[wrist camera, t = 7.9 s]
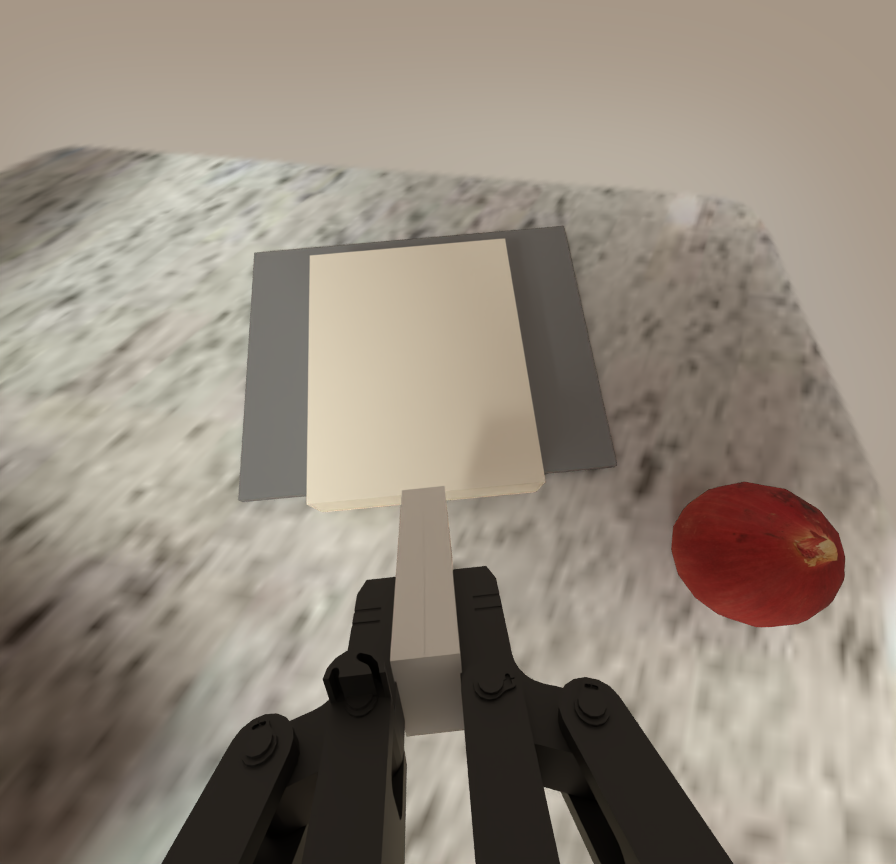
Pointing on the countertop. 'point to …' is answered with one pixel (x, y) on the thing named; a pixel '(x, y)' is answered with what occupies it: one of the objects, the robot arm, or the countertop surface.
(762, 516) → the onion
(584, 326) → the mat
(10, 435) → the countertop surface
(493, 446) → the tile
